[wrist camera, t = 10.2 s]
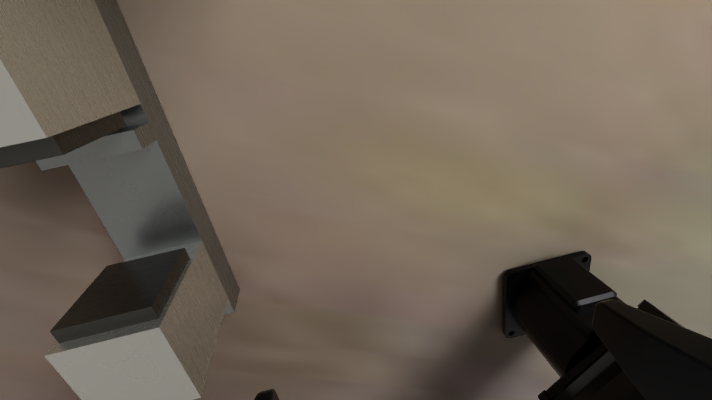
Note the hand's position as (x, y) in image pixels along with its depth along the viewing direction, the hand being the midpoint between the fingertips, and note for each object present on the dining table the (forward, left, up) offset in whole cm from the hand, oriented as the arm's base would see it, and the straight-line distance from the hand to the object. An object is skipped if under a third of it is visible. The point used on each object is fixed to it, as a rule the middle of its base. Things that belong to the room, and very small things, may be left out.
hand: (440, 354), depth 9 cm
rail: (+4, +11, -12) cm, 17 cm away
